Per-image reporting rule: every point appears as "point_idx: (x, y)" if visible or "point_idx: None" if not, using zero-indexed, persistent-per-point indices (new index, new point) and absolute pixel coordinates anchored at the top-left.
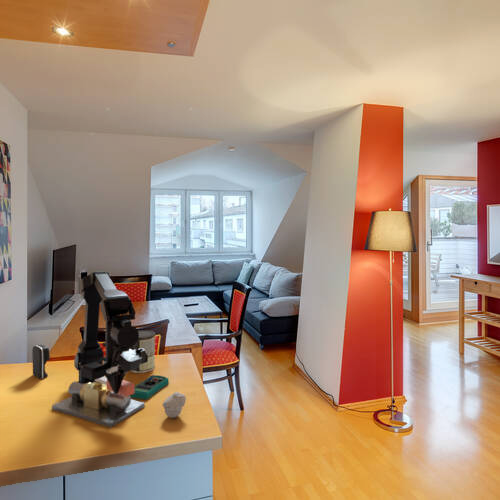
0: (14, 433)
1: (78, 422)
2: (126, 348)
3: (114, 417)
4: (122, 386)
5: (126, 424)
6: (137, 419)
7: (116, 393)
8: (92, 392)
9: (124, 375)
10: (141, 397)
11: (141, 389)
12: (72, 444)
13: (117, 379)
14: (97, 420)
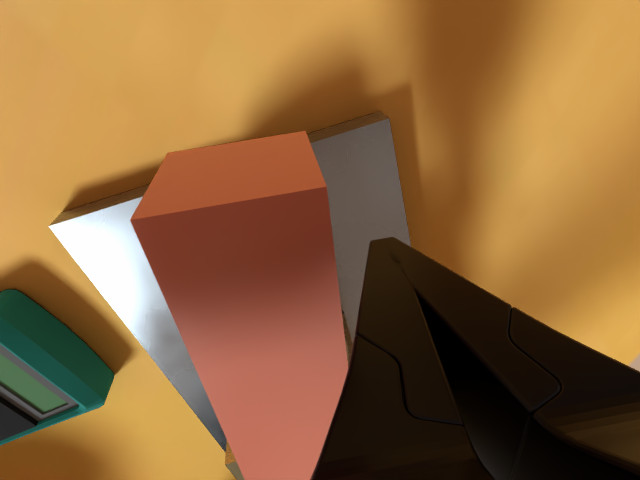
0: (622, 344)
1: None
2: None
3: (324, 177)
4: (335, 273)
5: (283, 69)
6: (183, 76)
7: (395, 238)
8: None
9: (333, 444)
10: (43, 318)
11: (11, 386)
12: (614, 96)
13: (522, 371)
14: (405, 221)
